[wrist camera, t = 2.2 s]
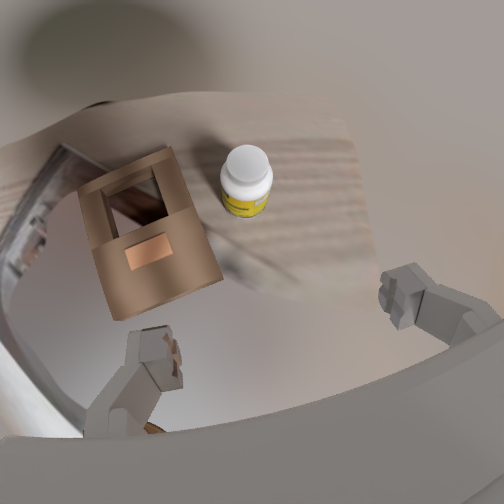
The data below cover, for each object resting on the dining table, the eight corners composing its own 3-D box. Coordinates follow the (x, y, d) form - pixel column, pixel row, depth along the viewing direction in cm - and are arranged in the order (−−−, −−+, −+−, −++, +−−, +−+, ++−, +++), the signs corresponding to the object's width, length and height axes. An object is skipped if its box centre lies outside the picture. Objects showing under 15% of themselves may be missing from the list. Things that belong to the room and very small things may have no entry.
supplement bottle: (213, 200, 39) (206, 162, 29) (244, 171, 40) (246, 128, 30) (245, 229, 38) (248, 199, 28) (276, 199, 39) (288, 161, 29)
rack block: (122, 320, 35) (112, 320, 32) (86, 196, 38) (75, 187, 35) (223, 279, 37) (222, 275, 33) (174, 157, 40) (170, 144, 36)
